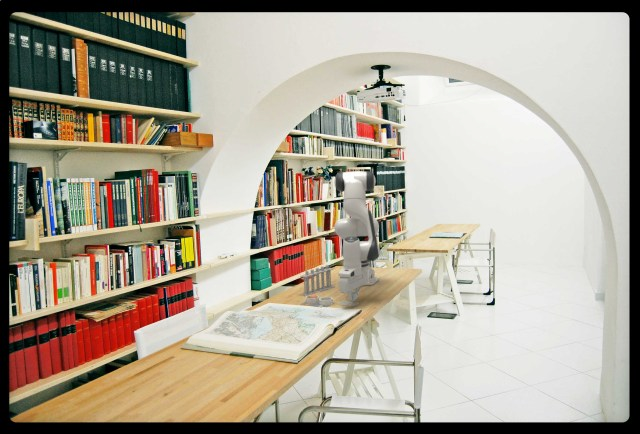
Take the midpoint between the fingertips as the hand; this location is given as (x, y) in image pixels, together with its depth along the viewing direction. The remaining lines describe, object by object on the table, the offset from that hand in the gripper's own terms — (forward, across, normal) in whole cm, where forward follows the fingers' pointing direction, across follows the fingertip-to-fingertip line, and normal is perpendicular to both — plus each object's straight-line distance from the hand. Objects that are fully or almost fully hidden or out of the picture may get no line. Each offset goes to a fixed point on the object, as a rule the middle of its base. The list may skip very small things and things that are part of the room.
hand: (353, 297), depth 237 cm
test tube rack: (+4, -16, -32) cm, 36 cm away
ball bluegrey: (+1, 0, 0) cm, 1 cm away
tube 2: (+3, +6, -13) cm, 14 cm away
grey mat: (+4, 0, -3) cm, 4 cm away
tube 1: (+3, +6, -21) cm, 22 cm away
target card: (+4, +7, -17) cm, 18 cm away
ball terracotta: (+3, +6, -21) cm, 22 cm away
